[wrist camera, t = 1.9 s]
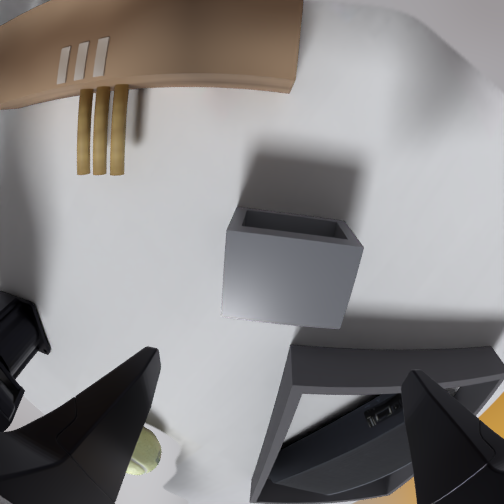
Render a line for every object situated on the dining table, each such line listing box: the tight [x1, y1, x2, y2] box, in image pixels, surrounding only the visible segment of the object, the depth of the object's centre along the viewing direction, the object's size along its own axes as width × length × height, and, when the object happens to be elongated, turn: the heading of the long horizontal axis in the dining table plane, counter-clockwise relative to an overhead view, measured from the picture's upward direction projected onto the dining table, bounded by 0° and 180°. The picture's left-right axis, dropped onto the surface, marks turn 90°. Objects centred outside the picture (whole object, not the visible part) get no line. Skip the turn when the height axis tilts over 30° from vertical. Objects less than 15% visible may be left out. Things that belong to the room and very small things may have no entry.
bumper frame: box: [250, 345, 504, 504], centre depth 24 cm, size 28×21×4 cm
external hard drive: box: [269, 393, 412, 495], centre depth 24 cm, size 13×19×4 cm
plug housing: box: [221, 207, 364, 329], centre depth 16 cm, size 5×6×4 cm
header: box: [0, 0, 303, 176], centre depth 12 cm, size 11×20×4 cm, turn 84°
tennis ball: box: [126, 426, 161, 475], centre depth 26 cm, size 6×7×7 cm
